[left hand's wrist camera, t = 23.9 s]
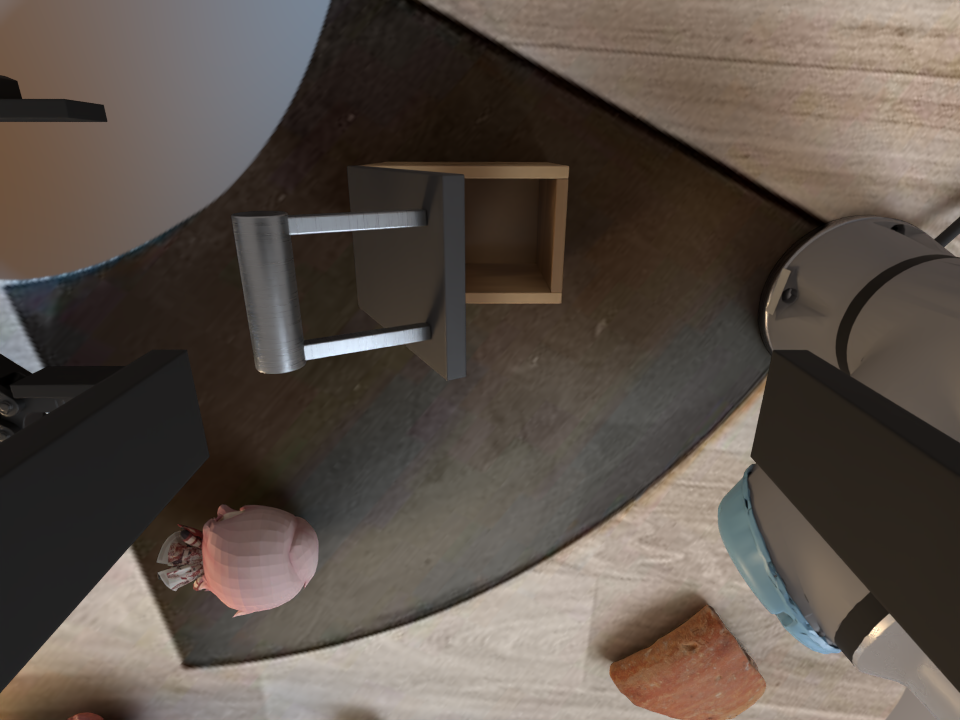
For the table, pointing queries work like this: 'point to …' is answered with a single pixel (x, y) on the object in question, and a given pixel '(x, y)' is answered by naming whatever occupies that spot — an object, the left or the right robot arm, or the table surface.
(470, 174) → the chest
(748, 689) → the ceramic shard
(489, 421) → the table surface
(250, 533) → the toy
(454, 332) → the lid
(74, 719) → the reddish clay figurine
